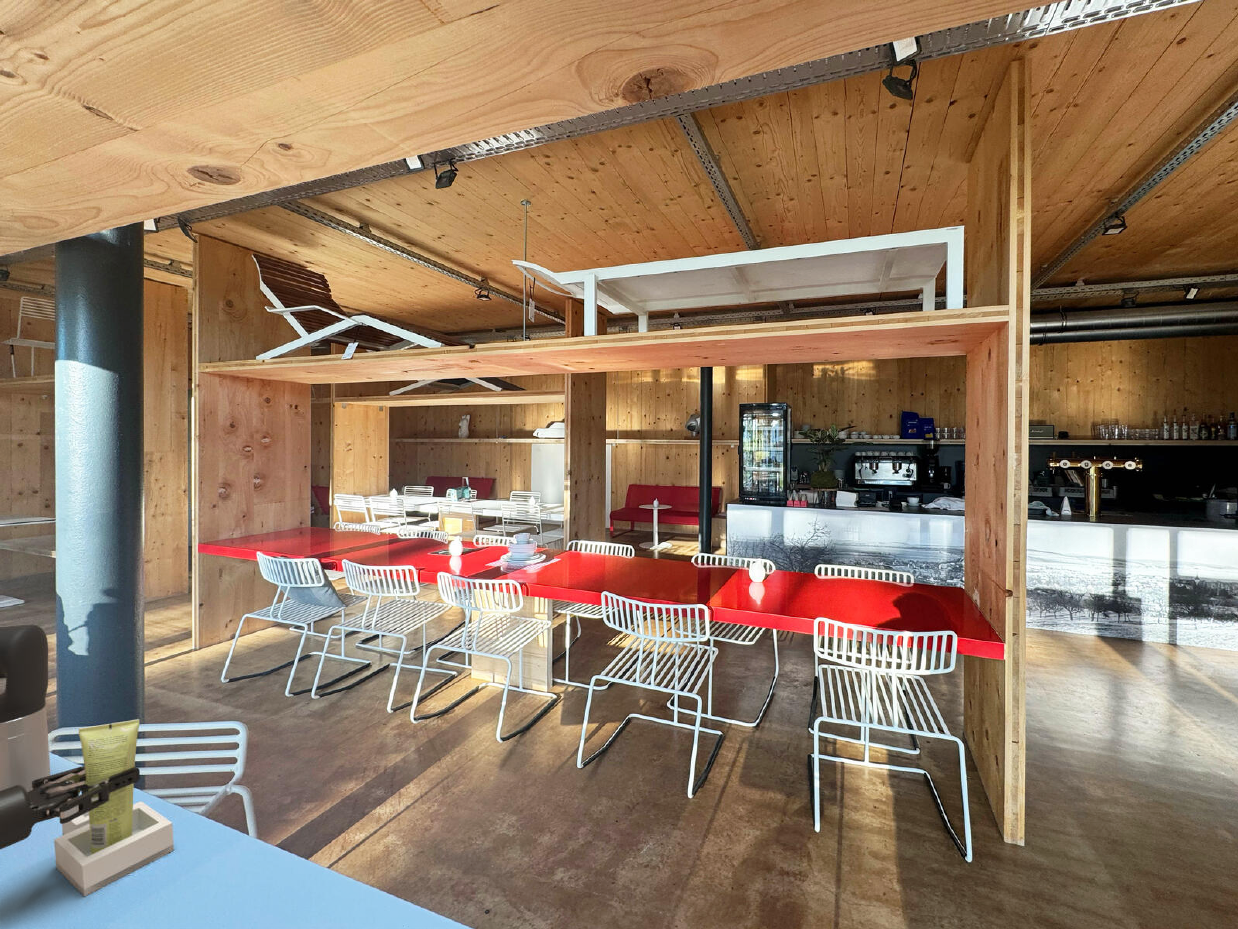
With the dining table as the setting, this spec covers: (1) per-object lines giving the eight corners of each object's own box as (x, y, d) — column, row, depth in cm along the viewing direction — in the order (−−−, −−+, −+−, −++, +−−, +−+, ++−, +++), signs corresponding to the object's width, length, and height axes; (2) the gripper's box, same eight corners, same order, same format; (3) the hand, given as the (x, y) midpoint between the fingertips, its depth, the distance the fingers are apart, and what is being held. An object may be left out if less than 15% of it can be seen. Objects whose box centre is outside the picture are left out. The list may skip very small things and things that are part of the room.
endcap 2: (56, 867, 90) (54, 839, 90) (142, 827, 100) (140, 801, 100) (84, 896, 84) (82, 866, 84) (173, 850, 94) (172, 822, 93)
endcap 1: (62, 838, 98) (61, 812, 97) (115, 815, 103) (114, 790, 103) (78, 852, 94) (76, 825, 94) (131, 827, 100) (130, 801, 100)
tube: (126, 830, 96) (121, 713, 95) (144, 838, 94) (139, 718, 93) (83, 852, 90) (78, 728, 90) (101, 861, 88) (96, 734, 88)
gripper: (-10, 817, 76) (149, 757, 90) (-38, 787, 83) (113, 735, 98) (-7, 874, 76) (152, 804, 90) (-35, 839, 83) (115, 779, 98)
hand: (131, 769), depth 94 cm, fingers closed on tube, 4 cm apart
